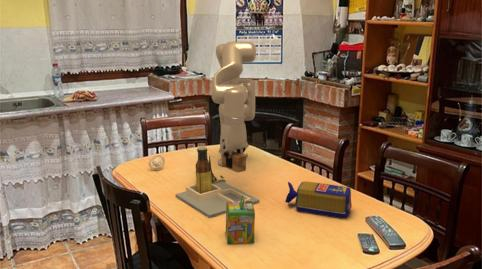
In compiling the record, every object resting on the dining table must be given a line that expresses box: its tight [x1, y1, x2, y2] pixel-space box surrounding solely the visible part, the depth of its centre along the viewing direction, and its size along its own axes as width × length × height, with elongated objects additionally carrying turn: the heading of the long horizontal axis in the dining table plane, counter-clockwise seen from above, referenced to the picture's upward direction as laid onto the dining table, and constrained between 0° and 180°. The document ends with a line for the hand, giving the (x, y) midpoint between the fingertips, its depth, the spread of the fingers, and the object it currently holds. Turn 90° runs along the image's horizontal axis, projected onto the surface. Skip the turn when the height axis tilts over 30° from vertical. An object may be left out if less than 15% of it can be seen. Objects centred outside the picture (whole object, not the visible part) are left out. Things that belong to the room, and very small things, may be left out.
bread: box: [284, 181, 353, 219], centre depth 178 cm, size 10×25×10 cm, turn 69°
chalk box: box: [225, 195, 256, 245], centre depth 155 cm, size 9×9×15 cm
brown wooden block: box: [221, 151, 247, 174], centre depth 182 cm, size 4×10×6 cm, turn 38°
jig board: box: [175, 182, 260, 219], centre depth 187 cm, size 24×25×4 cm
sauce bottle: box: [195, 146, 212, 194], centre depth 187 cm, size 6×6×20 cm
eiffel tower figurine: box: [208, 155, 227, 184], centre depth 206 cm, size 15×10×13 cm
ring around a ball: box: [148, 153, 166, 171], centre depth 220 cm, size 8×6×8 cm
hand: (233, 165), depth 182 cm, fingers closed on brown wooden block, 4 cm apart
